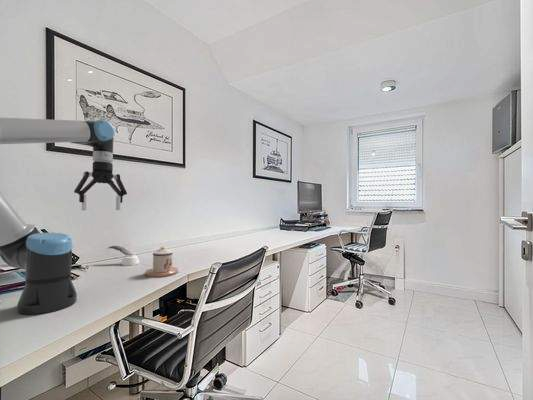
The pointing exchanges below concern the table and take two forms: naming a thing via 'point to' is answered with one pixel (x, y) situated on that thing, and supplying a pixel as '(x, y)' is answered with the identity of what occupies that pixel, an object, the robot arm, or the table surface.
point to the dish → (153, 274)
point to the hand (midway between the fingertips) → (101, 210)
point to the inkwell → (127, 256)
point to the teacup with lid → (162, 260)
